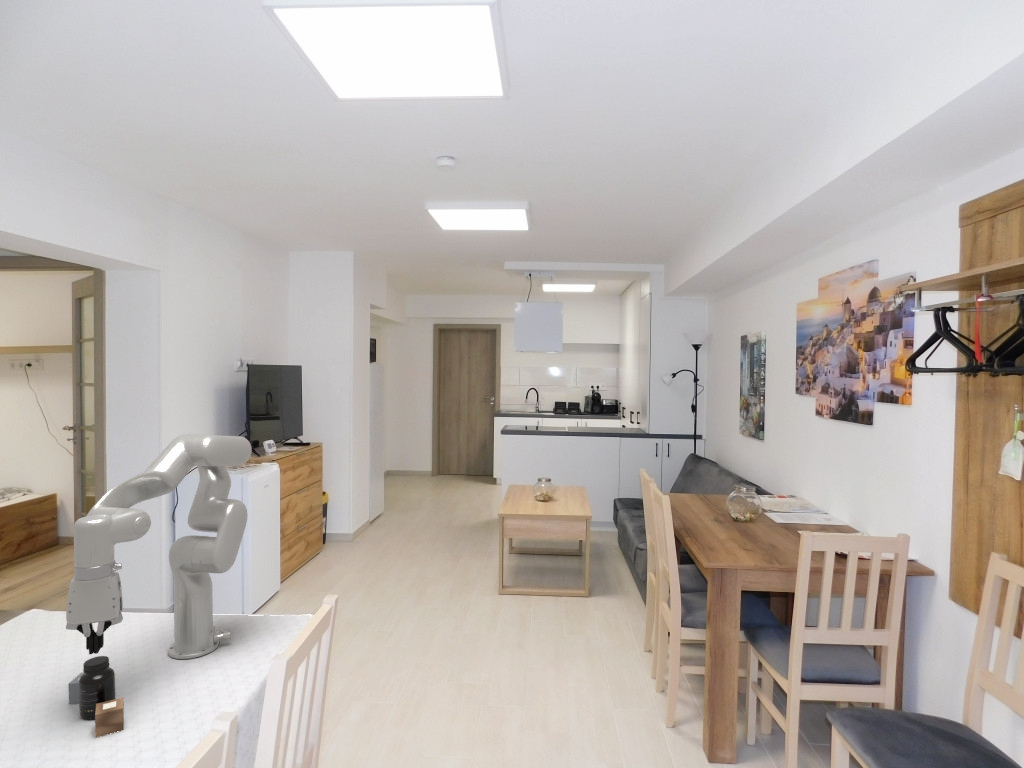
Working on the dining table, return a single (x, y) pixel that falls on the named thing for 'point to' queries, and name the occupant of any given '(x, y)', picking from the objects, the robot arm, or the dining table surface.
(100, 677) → the supplement bottle
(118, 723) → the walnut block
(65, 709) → the dining table surface
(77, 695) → the slate grey block
